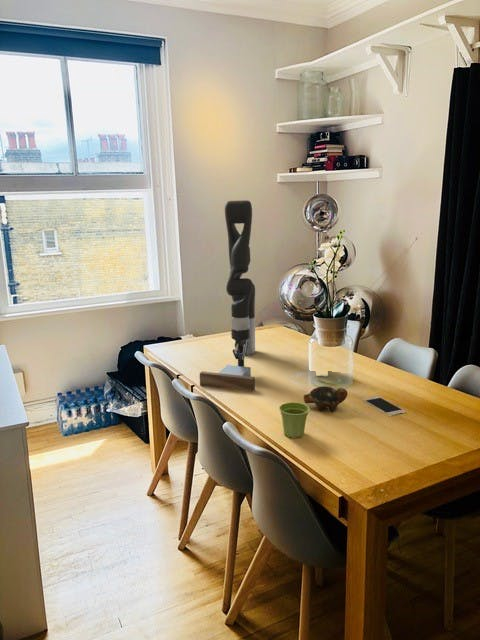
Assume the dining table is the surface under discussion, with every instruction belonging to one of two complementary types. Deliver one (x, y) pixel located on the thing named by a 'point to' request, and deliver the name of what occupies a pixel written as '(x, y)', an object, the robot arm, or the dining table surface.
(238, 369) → the block
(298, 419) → the plant pot
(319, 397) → the decorative turtle
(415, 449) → the dining table surface
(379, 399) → the smartphone
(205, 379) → the board
